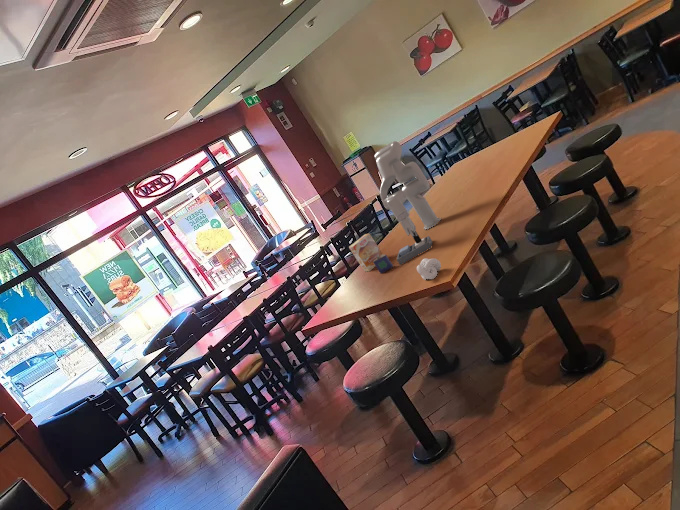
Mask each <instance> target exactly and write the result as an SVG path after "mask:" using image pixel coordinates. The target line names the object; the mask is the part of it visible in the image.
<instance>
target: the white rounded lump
mask: <svg viewBox="0 0 680 510" xmlns="http://www.w3.org/2000/svg"><path fill="white" fill-rule="evenodd" d="M441 268H442V264H441V261H440V260H439V259H437V258H434V257H433V258H423V259H422V260H421V261H420V263H419V264H418V265H417V266H416V271H417V273H418V274H419V275H420V276H421V278H422V279H423V280H424V281H427V280H434V278H435V277H436V276H437V277H438V275H439V272H440V270H441ZM437 271H438V272H437ZM437 274H438V275H437ZM437 277H436V278H437ZM436 278H435V279H436ZM426 279H427V280H426Z"/></svg>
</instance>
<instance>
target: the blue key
mask: <svg viewBox="0 0 680 510" xmlns="http://www.w3.org/2000/svg"><path fill="white" fill-rule="evenodd" d="M410 246H411V245H409V244H408V245H406V246H403V247H402V248H400V249H399V251H398V252H399V254H400V255H401V257H402V256H403V255H405V254H407V253H409V252H411V248H410Z"/></svg>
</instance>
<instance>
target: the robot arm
mask: <svg viewBox="0 0 680 510" xmlns="http://www.w3.org/2000/svg"><path fill="white" fill-rule="evenodd" d="M402 153H403V149H402V145H401V144H400V142H398V141H395V140H394V141H391V143H388V144H387V145H385V146H384V147H382V148H380V149H379V150H378V151H376V152H375V153H374V160H375V161H376V162H375V163H376V165H377V168H378V169H377V170H378V172H379V174H380V177H381V180H382V181H381V185H380V189H379V196H380V199H381V201H382V204H383V207H384V208H385V209H386V210H390V211H391V212H392V214H393V216H394V217H395V218H396V220H397V222H400V225H401V227H402V228H403V230H404V231H405V234H406V235H407V236H408V237H409V236H411V237H412V239H413V240H414V243H417V244H418V243H419V242H421V239H422V238H421V237H420V235H419V234H418V232H417V230H416V229H417V227H416V225H415V223H414V222H413V220H412V218H411V217H410V213H409V211H408V209H407V208H406V207H405V205H404V203H405V202H406V201H408V202H409V203H410V205H411V206H412V207H413V209H414V212H416V214H417V215H418V217H419V219H420V220H421V222H422V223H423V225H424V226H423V230H424V231H427V230H429V228H430V229H432V228H434V227H435V226H437V225H438V224H439V223H440V222H441V221H442V218H441V217H438V216H437V215H436V213H435V211H434V210H433V208H432V207H431V205H430V203H429V202H428V199H426V198H425V197H424V196H422V195H421V194H422V193H424V192H425V191H428V189H429V187H430V183H429V181H428V178H426V176H425V174H424V173H423V171H422V169H421V168H420V166H419V165H418V164H417V163H416V162H414V161H410V162H408V163H406V164H405V165H404V163H402V160H401V157H402ZM412 179H413V180H412ZM395 180H396V181H397V182H398V184H405V183H406V184H405V185H404V186H402V187H401V189H399V190H396V191H395V192H393V193H392V194H390V195H388V192H389V189H390V187H391V186H392V185H393V184H394V182H395ZM410 180H411V181H410ZM408 181H409V182H408ZM440 220H441V221H440ZM439 221H440V222H439ZM438 222H439V223H438ZM437 223H438V224H437ZM436 224H437V225H436ZM434 225H435V226H434ZM433 226H434V227H433ZM431 227H432V228H431ZM426 229H427V230H426Z"/></svg>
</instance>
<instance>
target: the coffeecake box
mask: <svg viewBox="0 0 680 510" xmlns="http://www.w3.org/2000/svg"><path fill="white" fill-rule="evenodd" d="M348 248H349V250H350V252H351V253H352V254H353V256H354V258H355V259H356V261H357V262H358V264H359V265H360V267H361V268H362V270H363V272H370V271H372V270H373V269H374V268H375V267H376V266H375V264H374V263H373V261H374V260H375V259H377V256H378V255H379V257H381V256H383V255H384V253H383V252H382V250H381V249H380V247H379V246H378V244H377V243H376V241H375V240H374V238H373V237H372V235H371V234H370V233H365V234H363V235H362V236H361V237H360V238H358V239H357V240H356V241H354V243H352V244H350V245H349V246H348Z"/></svg>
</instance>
